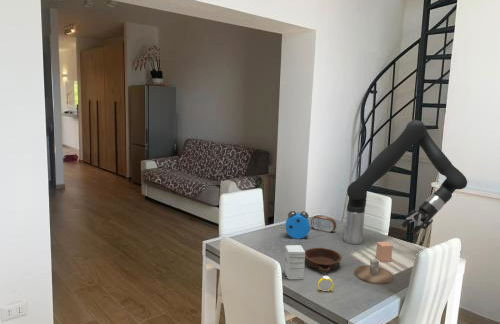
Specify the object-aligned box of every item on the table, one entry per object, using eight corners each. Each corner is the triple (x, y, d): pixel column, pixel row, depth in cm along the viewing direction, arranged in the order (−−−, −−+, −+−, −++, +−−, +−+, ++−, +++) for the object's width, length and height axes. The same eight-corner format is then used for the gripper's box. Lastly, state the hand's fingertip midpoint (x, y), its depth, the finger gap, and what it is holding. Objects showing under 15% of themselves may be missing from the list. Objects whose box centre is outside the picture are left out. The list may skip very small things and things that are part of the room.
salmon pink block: (380, 262, 180) (382, 246, 179) (375, 257, 185) (377, 242, 184) (391, 261, 181) (392, 245, 179) (385, 257, 186) (386, 241, 185)
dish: (303, 274, 166) (304, 263, 165) (302, 254, 188) (302, 244, 187) (344, 277, 164) (344, 266, 163) (338, 256, 186) (338, 247, 185)
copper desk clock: (336, 232, 219) (337, 218, 218) (334, 234, 217) (335, 220, 215) (311, 227, 227) (312, 214, 226) (309, 228, 225) (310, 215, 223)
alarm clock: (308, 236, 213) (309, 210, 210) (309, 240, 206) (310, 213, 204) (285, 234, 213) (286, 209, 211) (285, 238, 207) (286, 212, 205)
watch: (331, 290, 153) (333, 276, 152) (333, 293, 150) (335, 279, 149) (316, 288, 153) (318, 275, 152) (317, 292, 150) (319, 278, 149)
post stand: (350, 277, 163) (351, 262, 162) (360, 264, 177) (361, 250, 176) (388, 287, 155) (390, 271, 154) (396, 273, 169) (397, 258, 168)
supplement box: (283, 272, 167) (285, 245, 165) (300, 272, 168) (301, 244, 165) (286, 280, 160) (288, 251, 158) (304, 279, 160) (305, 251, 158)
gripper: (418, 196, 188) (395, 219, 188) (436, 204, 175) (411, 229, 175) (427, 207, 190) (404, 229, 190) (446, 215, 176) (421, 239, 176)
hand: (407, 229), depth 182 cm, fingers open, 8 cm apart
